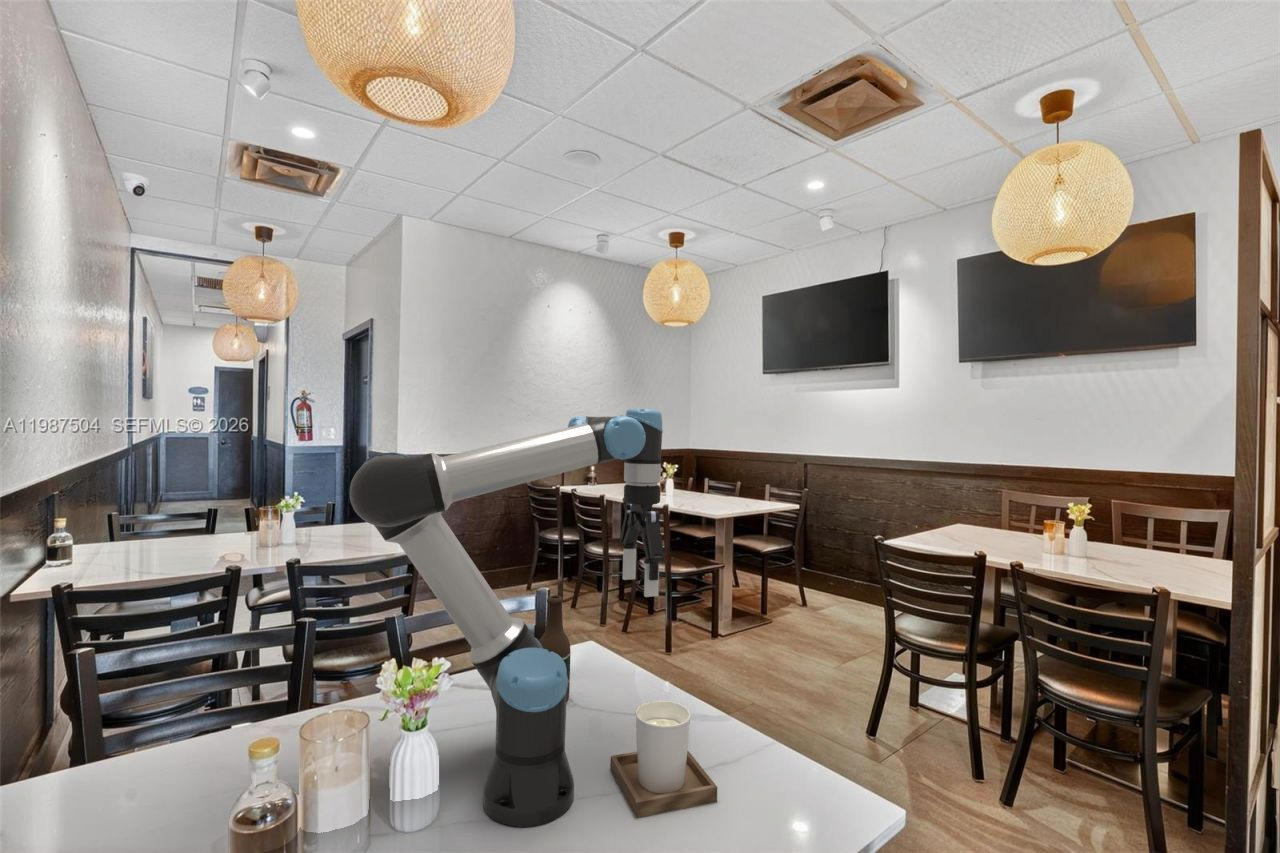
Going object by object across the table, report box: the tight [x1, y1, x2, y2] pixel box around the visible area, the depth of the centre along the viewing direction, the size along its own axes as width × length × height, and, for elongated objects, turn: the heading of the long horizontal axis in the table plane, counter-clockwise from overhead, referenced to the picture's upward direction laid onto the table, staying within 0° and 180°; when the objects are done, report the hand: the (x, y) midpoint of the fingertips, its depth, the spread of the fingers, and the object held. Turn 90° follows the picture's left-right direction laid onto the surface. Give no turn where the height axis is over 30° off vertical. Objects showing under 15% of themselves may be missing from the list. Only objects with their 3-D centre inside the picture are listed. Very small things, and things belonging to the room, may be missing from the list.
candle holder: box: [635, 700, 692, 794], centre depth 107 cm, size 10×10×12 cm
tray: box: [609, 750, 718, 819], centre depth 107 cm, size 15×15×2 cm
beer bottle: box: [538, 594, 572, 703], centre depth 138 cm, size 8×8×24 cm
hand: (639, 587), depth 123 cm, fingers open, 13 cm apart
